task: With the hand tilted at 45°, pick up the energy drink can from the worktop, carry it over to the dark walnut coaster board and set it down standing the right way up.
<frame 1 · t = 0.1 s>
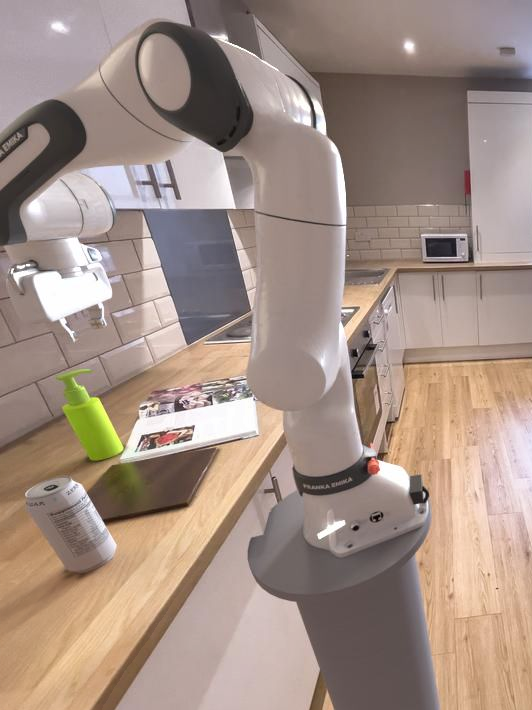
hand: (86, 334, 75), 31 cm above the counter, tool pointing down, fingers open, 8 cm apart
coaster board: (148, 485, 83), on the counter
soap dispenser: (110, 452, 95), on the counter
energy drink can: (95, 561, 66), on the counter
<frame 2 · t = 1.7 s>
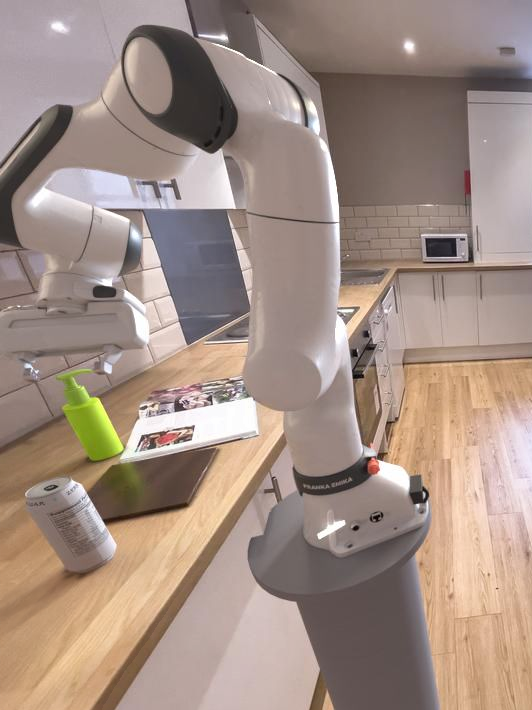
hand: (66, 377, 66), 27 cm above the counter, tool tilted 45°, fingers open, 8 cm apart
nothing on the counter moved.
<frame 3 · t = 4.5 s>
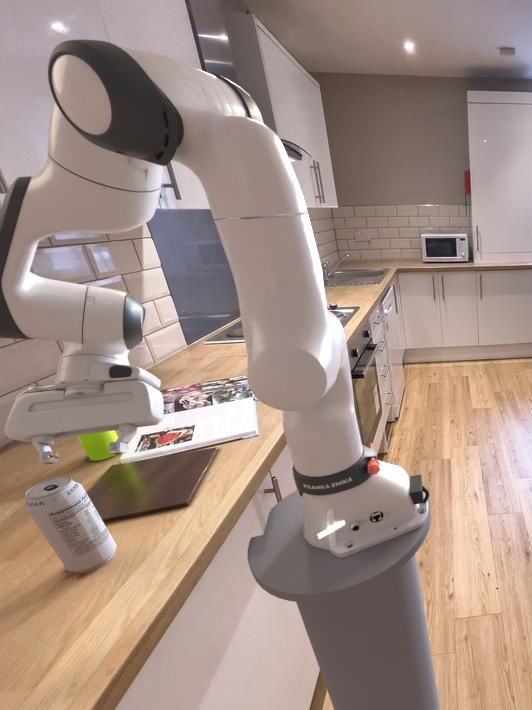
hand: (83, 458, 67), 15 cm above the counter, tool tilted 45°, fingers open, 8 cm apart
nothing on the counter moved.
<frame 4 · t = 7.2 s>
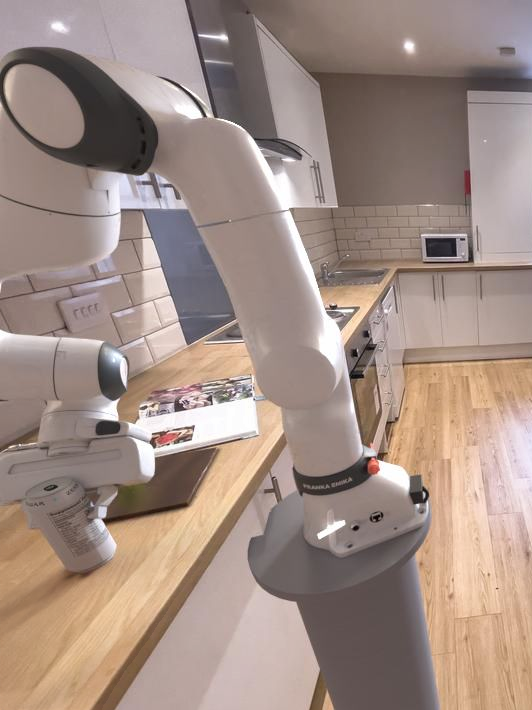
hand: (67, 523, 62), 8 cm above the counter, tool tilted 45°, fingers closed on energy drink can, 6 cm apart
energy drink can: (95, 561, 66), on the counter, touching gripper
everything else where it was.
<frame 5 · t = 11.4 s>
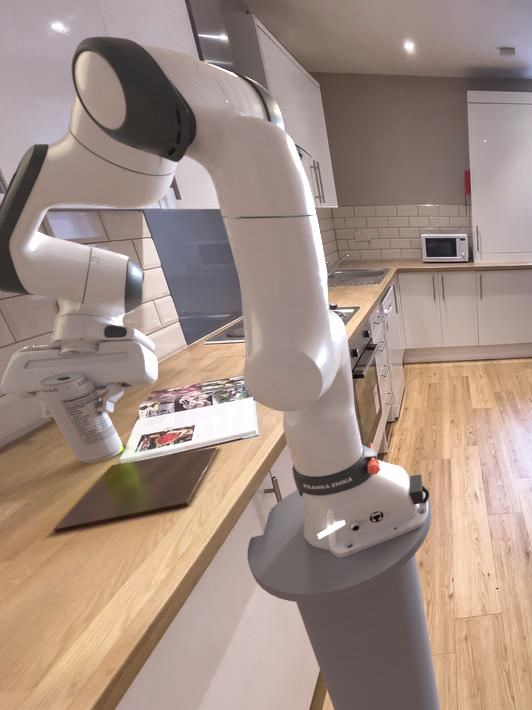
hand: (78, 415, 68), 21 cm above the counter, tool tilted 45°, fingers closed on energy drink can, 6 cm apart
energy drink can: (102, 455, 72), point 12 cm above the counter, touching gripper
everything else where it was.
when the fingers open (9 cm above the counter, at t = 15.9 s): energy drink can stays where it is, resting on coaster board.
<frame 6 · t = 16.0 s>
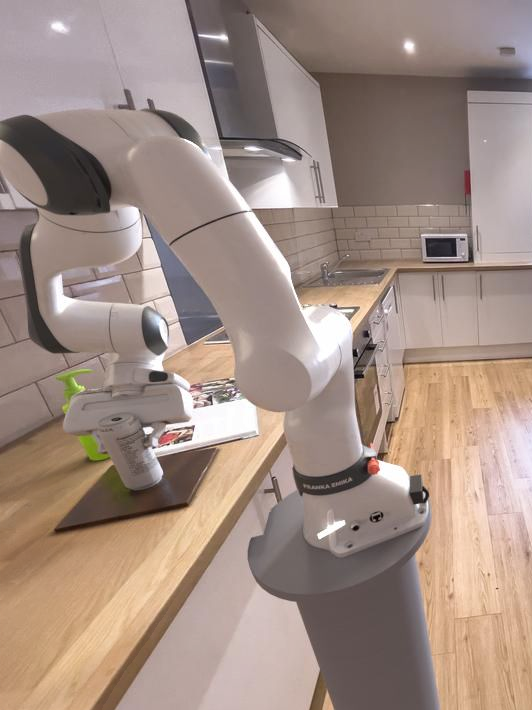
hand: (128, 450, 79), 9 cm above the counter, tool tilted 45°, fingers open, 6 cm apart
energy drink can: (146, 483, 83), point 1 cm above the counter, touching coaster board
everything else where it was.
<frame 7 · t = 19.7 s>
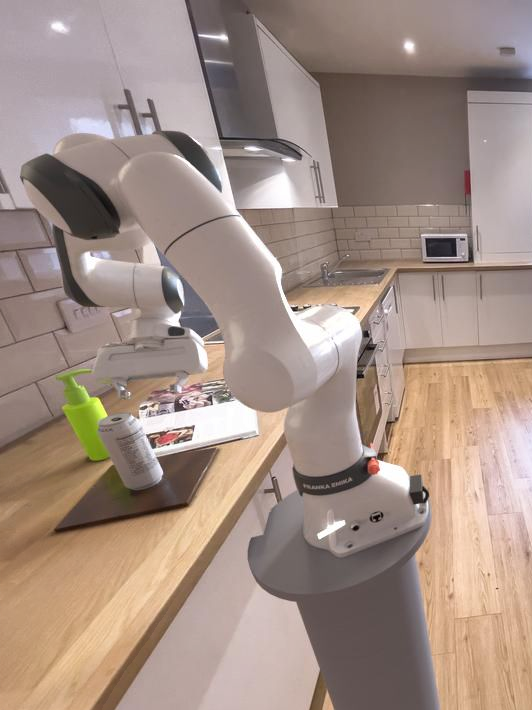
hand: (150, 396, 88), 15 cm above the counter, tool tilted 45°, fingers open, 8 cm apart
nothing on the counter moved.
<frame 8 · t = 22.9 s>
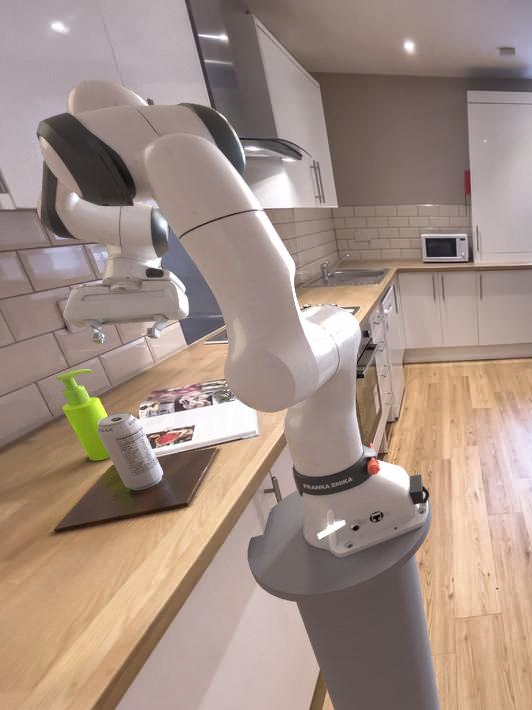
hand: (125, 339, 83), 27 cm above the counter, tool tilted 45°, fingers open, 8 cm apart
nothing on the counter moved.
at the end: energy drink can inside the target area (0.1 cm from its centre), point 0.6 cm above the counter; energy drink can tilted 0°; the gripper is holding nothing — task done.
